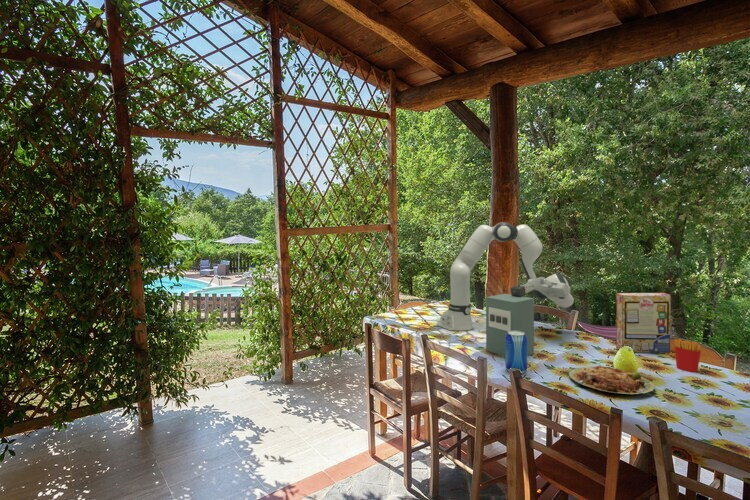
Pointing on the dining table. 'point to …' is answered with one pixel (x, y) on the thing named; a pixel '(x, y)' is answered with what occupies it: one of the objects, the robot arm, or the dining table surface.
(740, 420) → the dining table surface
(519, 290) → the lever bar
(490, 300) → the switch cabinet
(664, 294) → the board game box
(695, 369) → the french fries
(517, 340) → the beer can
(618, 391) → the rice dish
